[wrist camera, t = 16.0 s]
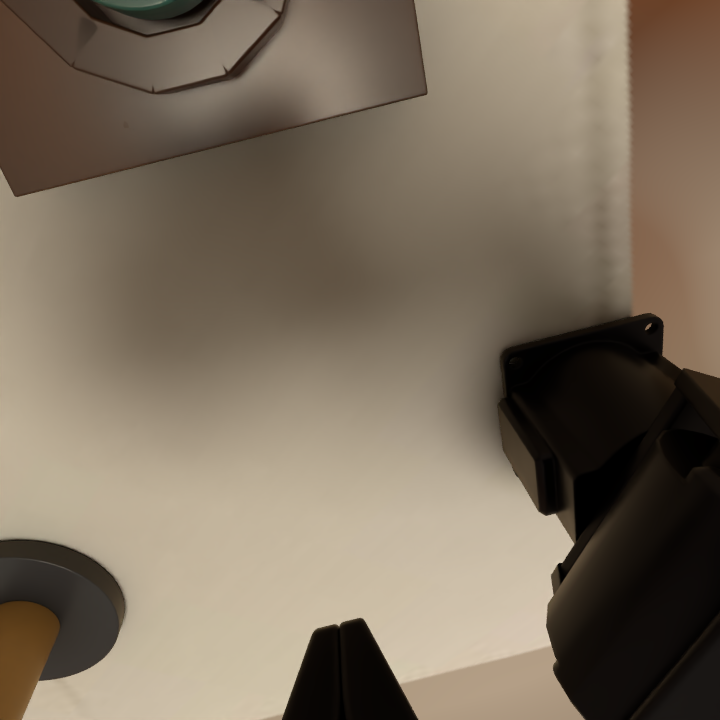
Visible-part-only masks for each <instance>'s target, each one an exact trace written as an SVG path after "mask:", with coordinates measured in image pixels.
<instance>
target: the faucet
mask: <svg viewBox="0 0 720 720" xmlns="http://www.w3.org/2000/svg"><path fill="white" fill-rule="evenodd" d="M124 611H125V606H124V599H123V596H122V593H121V591H120V589H119V587H118V585H117V583H116V582H115V581H114V579H113V578H112V577H111V576H110V575H109V574H108V573H107V571H106V570H104V569H103V568H102V567H101V566H99V565H98V564H97V563H95V562H94V561H92V560H91V559H89V558H87V557H86V556H84V555H81V554H79V553H77V552H75V551H72V550H70V549H67V548H64V547H61V546H57V545H53V544H49V543H43V542H36V541H3V542H0V720H22V718H23V715H24V713H25V711H26V708H27V706H28V704H29V701H30V699H31V697H32V694H33V692H34V690H35V687H36V685H37V683H38V681H44V680H52V679H58V678H63V677H67V676H71V675H74V674H77V673H79V672H82V671H84V670H86V669H88V668H90V667H92V666H94V665H95V664H97V663H98V662H99V661H101V660H102V659H103V658H104V657H105V656H106V655H107V654H108V653H109V652H110V650H111V649H112V648H113V646H114V644H115V642H116V640H117V637H118V634H119V631H120V628H121V625H122V622H123V618H124Z"/></svg>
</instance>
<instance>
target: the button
mask: <svg viewBox="0 0 720 720" xmlns="http://www.w3.org/2000/svg"><path fill="white" fill-rule="evenodd" d="M91 1H94V2H96V3H98V4H101V5H103V6H105V7H108V8H110V9H112V10H115V11H117V12H119V13H122V14H124V15H127V16H131V17H134V18H139V19H147V20H161V19H167V18H172V17H175V16H178V15H181V14H183V13H185V12H187V11H189V10H191V9H192V8H194V7H195V6H196V5H198V4H199V3H200V2H202V1H203V0H91Z"/></svg>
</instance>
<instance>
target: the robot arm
mask: <svg viewBox="0 0 720 720" xmlns="http://www.w3.org/2000/svg"><path fill="white" fill-rule="evenodd" d="M650 323H652V324H651V327H650V328H649V329H647V330H645V328H646V326H647V325H648V324H650ZM663 327H664V325H663V321H662V320H661V319H660V318H659V317H657V316H656V315H654V314H651V313H647V314H642V315H638V316H634V317H630V318H626V319H622V320H618V321H614V322H610V323H606V324H602V325H598V326H594V327H590V328H586V329H582V330H578V331H574V332H570V333H566V334H562V335H558V336H554V337H550V338H546V339H542V340H538V341H534V342H530V343H526V344H522V345H518V346H514V347H510V348H508V349H506V350H505V351H504V352H503V353H502V355H501V357H500V365H501V374H502V383H503V392H504V398H502V399H501V400H500V402H499V403H498V412H499V421H500V429H501V437H502V445H503V451H504V453H505V454H506V456H507V458H508V460H509V461H510V463H511V465H512V468H513V471H514V472H515V474H516V476H517V477H518V478H519V479H520V480H521V482H522V484H523V486H524V487H525V489H526V491H527V492H528V494H529V496H530V498H531V499H532V501H533V503H534V504H535V506H536V508H537V510H538V511H539V512H540V513H542V514H544V515H545V516H547V515H551V514H555V513H556V515H557V516H558V518H559V520H560V521H561V523H562V524H563V526H564V528H565V529H566V531H567V533H568V534H569V536H570V537H571V539H572V541H573V542H574V544H575V545H574V546H573V548H572V549H571V551H570V552H569V554H568V556H567V557H566V559H565V560H564V562H563V563H559V564H558V565H557V567H556V568H555V570H554V571H553V573H552V574H551V579H552V586H553V594H554V596H553V597H552V599H551V600H550V602H549V603H548V609H547V623H546V627H547V631H548V634H549V638H550V641H551V645H552V648H553V651H554V655H555V657H556V659H557V661H556V662H555V663H554V665H553V671H554V674H555V676H556V678H557V680H558V681H559V683H560V684H561V686H562V688H563V689H564V691H565V693H566V694H567V696H568V698H569V699H570V701H571V702H572V704H573V705H574V707H575V708H576V709H577V710H578V712H579V713H580V714H581V715H582V716H583V718H584V719H585V720H720V378H717V377H713V376H710V375H706V374H703V373H700V372H696V371H693V370H689V369H685V368H684V369H683V370H681V369H680V368H678V367H677V366H675V365H674V364H673V363H671V362H670V361H668V360H667V359H666V358H664V357H663V356H662V349H663ZM514 357H518V360H517V361H516V362H515V363H513V364H509V363H510V360H511V359H512V358H514ZM282 720H418V718H417V716H416V715H415V713H414V711H413V710H412V707H411V705H410V703H409V702H408V700H407V698H406V696H405V694H404V692H403V691H402V689H401V687H400V685H399V683H398V681H397V679H396V677H395V676H394V674H393V672H392V670H391V668H390V666H389V665H388V663H387V661H386V659H385V657H384V655H383V653H382V652H381V650H380V648H379V646H378V644H377V642H376V641H375V639H374V637H373V635H372V633H371V631H370V629H369V628H368V626H367V624H366V622H365V621H364V619H362V618H357V619H353V620H349V621H345V622H343V623H341V624H340V627H339V626H338V625H336V624H333V625H329V626H325V627H322V628H318V629H316V630H315V631H314V632H313V634H312V636H311V639H310V642H309V644H308V647H307V650H306V653H305V656H304V659H303V661H302V664H301V667H300V670H299V673H298V675H297V678H296V681H295V684H294V687H293V690H292V692H291V695H290V698H289V701H288V704H287V706H286V709H285V712H284V715H283V718H282Z"/></svg>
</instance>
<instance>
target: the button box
mask: <svg viewBox="0 0 720 720" xmlns="http://www.w3.org/2000/svg"><path fill="white" fill-rule="evenodd" d="M426 94H427V85H426V78H425V71H424V65H423V58H422V51H421V44H420V37H419V30H418V23H417V17H416V10H415V3H414V0H203V1H202V2H200V3H199V4H198V5H196V6H195V7H194V8H192V9H191V10H189V11H187V12H185V13H183V14H181V15H178V16H175V17H172V18H167V19H161V20H147V19H139V18H134V17H131V16H127V15H124V14H122V13H119V12H117V11H115V10H112V9H110V8H108V7H105V6H103V5H101V4H98V3H96V2H94V1H91V0H0V168H1V170H2V172H3V174H4V176H5V178H6V180H7V182H8V184H9V186H10V188H11V190H12V192H13V194H14V196H15V197H19V196H23V195H27V194H31V193H35V192H39V191H43V190H47V189H51V188H55V187H59V186H63V185H67V184H71V183H75V182H79V181H83V180H87V179H91V178H95V177H99V176H103V175H107V174H111V173H115V172H119V171H123V170H127V169H131V168H135V167H139V166H143V165H147V164H151V163H155V162H159V161H163V160H167V159H171V158H175V157H179V156H183V155H187V154H191V153H195V152H199V151H203V150H207V149H211V148H215V147H219V146H223V145H227V144H231V143H235V142H239V141H243V140H247V139H251V138H255V137H259V136H263V135H267V134H271V133H275V132H279V131H283V130H287V129H291V128H295V127H299V126H303V125H307V124H311V123H315V122H319V121H323V120H327V119H331V118H335V117H339V116H343V115H347V114H351V113H355V112H359V111H363V110H367V109H371V108H375V107H379V106H383V105H387V104H391V103H395V102H399V101H403V100H407V99H411V98H415V97H419V96H423V95H426Z"/></svg>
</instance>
